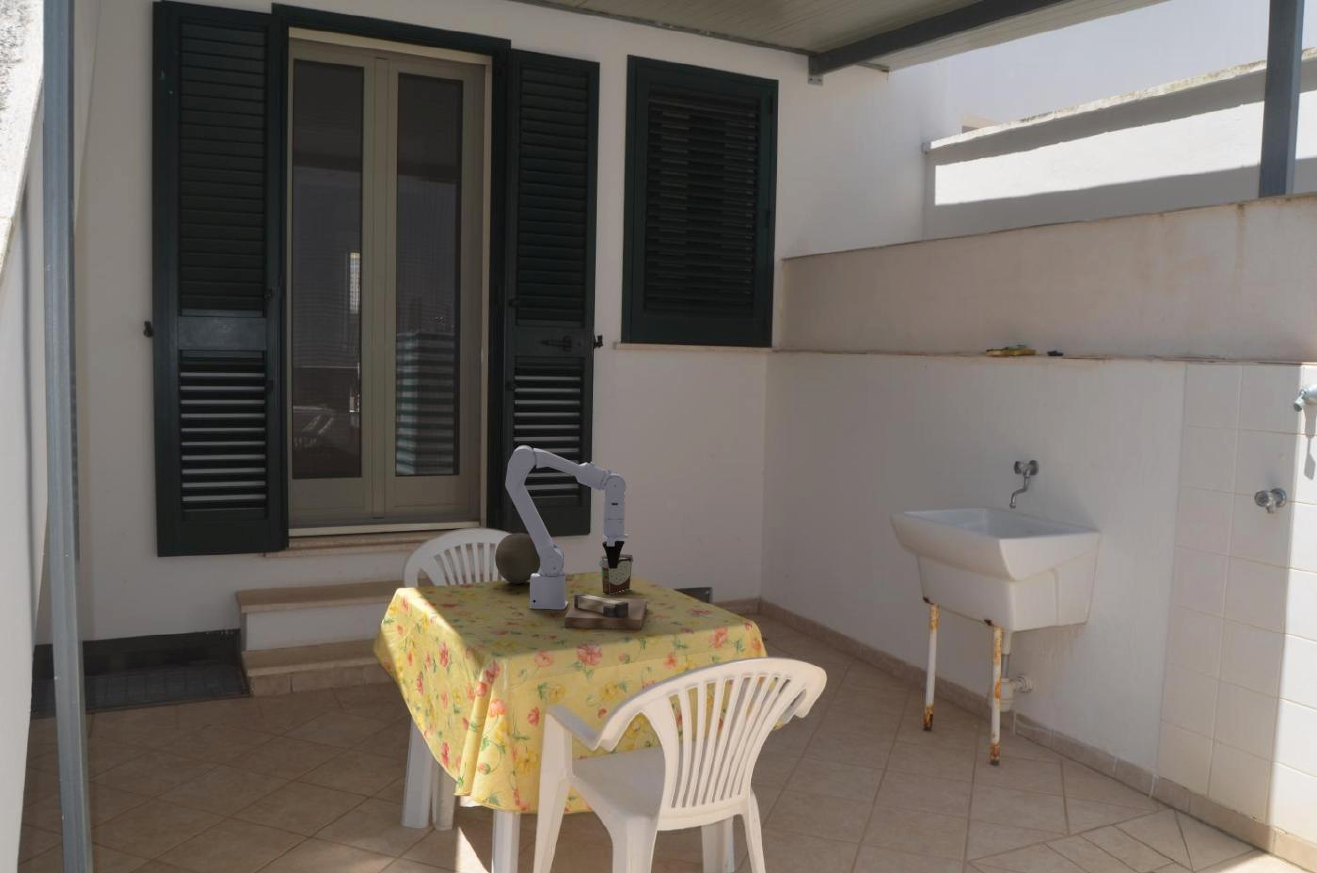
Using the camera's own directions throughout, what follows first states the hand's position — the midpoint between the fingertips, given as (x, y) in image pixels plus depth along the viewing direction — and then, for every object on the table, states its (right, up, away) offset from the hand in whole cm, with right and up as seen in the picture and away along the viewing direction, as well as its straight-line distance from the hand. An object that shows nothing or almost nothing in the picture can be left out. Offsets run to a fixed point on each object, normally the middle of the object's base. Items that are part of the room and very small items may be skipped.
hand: (613, 568), depth 287 cm
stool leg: (-3, -9, -16) cm, 18 cm away
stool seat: (-1, -11, -11) cm, 16 cm away
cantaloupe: (-29, -8, +26) cm, 40 cm away
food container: (-1, -9, +19) cm, 22 cm away
